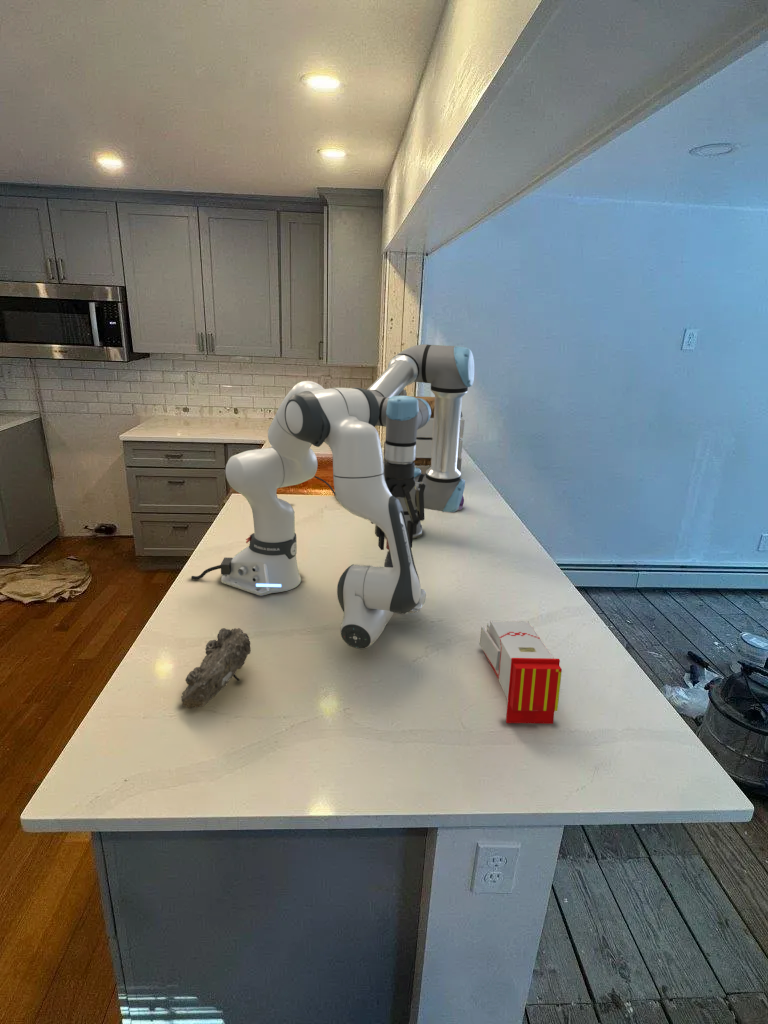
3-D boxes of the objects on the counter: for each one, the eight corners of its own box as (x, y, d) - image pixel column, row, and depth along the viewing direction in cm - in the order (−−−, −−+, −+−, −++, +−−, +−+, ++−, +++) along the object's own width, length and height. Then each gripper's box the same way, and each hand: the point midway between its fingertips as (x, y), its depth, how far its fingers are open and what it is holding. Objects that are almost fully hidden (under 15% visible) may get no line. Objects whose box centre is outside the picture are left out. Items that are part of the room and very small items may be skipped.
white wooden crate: (382, 463, 289) (386, 382, 275) (445, 464, 293) (451, 384, 279) (390, 482, 257) (394, 392, 243) (460, 483, 261) (468, 394, 247)
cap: (407, 548, 146) (408, 539, 146) (393, 552, 144) (394, 543, 143) (396, 542, 150) (396, 534, 149) (382, 546, 147) (382, 537, 146)
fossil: (203, 630, 128) (250, 600, 123) (232, 659, 131) (279, 630, 126) (159, 702, 109) (213, 669, 104) (194, 733, 111) (249, 703, 106)
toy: (526, 605, 135) (570, 665, 105) (521, 658, 137) (563, 730, 108) (475, 604, 134) (506, 664, 105) (472, 657, 137) (500, 729, 108)
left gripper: (419, 601, 135) (432, 577, 147) (339, 585, 140) (358, 563, 153) (418, 624, 137) (431, 598, 149) (339, 608, 142) (358, 584, 155)
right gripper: (432, 455, 145) (426, 538, 153) (356, 457, 140) (354, 543, 147) (443, 463, 138) (436, 549, 146) (364, 465, 133) (361, 555, 141)
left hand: (394, 580), depth 151 cm, fingers closed on bottle, 5 cm apart
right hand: (395, 546), depth 147 cm, fingers open, 7 cm apart
